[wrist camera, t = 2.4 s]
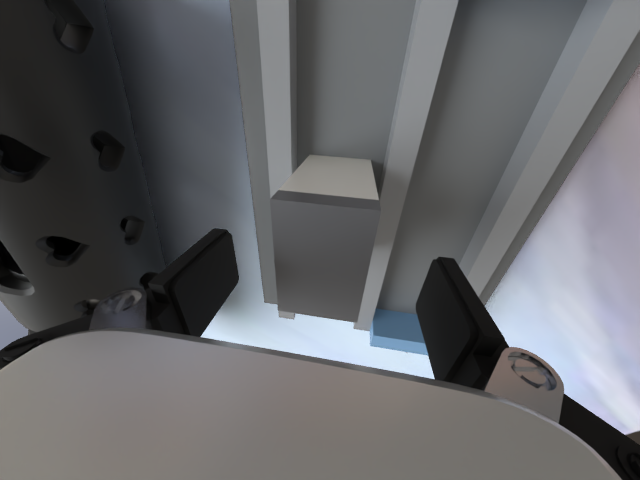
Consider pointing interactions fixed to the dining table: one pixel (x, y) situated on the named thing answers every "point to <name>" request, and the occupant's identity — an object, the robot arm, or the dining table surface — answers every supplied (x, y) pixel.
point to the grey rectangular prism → (325, 236)
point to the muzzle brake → (67, 166)
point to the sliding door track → (429, 123)
